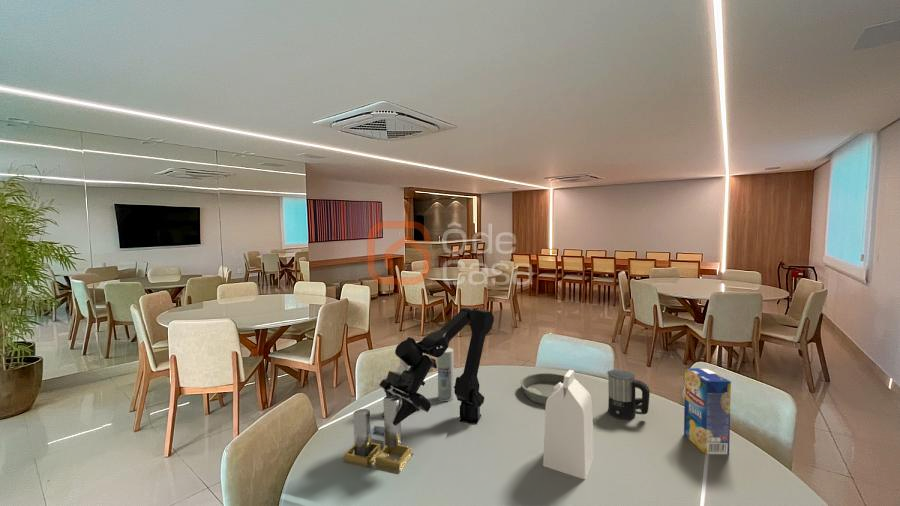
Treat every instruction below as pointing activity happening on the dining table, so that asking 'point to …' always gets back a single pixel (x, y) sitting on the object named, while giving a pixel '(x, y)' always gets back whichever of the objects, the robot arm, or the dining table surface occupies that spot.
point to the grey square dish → (380, 430)
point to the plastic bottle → (400, 370)
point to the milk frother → (626, 394)
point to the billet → (391, 420)
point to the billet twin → (362, 432)
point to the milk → (569, 428)
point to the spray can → (446, 376)
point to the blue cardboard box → (707, 410)
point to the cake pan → (541, 385)
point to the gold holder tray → (381, 458)
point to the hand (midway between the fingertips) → (388, 421)
